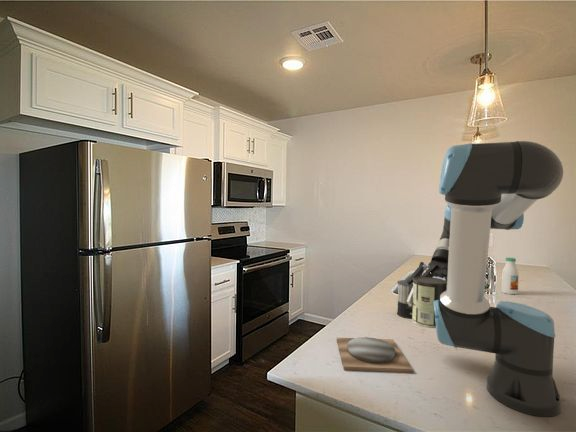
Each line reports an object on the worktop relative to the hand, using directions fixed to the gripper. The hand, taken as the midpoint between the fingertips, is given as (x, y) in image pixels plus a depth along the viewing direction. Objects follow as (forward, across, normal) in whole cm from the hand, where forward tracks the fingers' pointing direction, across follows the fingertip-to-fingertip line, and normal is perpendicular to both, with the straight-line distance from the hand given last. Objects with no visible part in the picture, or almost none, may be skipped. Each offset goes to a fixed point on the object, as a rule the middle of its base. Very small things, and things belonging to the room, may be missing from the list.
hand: (424, 307), depth 100 cm
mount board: (+20, +12, -3) cm, 23 cm away
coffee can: (+2, 0, -6) cm, 6 cm away
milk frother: (-15, +24, -37) cm, 47 cm away
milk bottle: (-68, +2, -90) cm, 113 cm away
